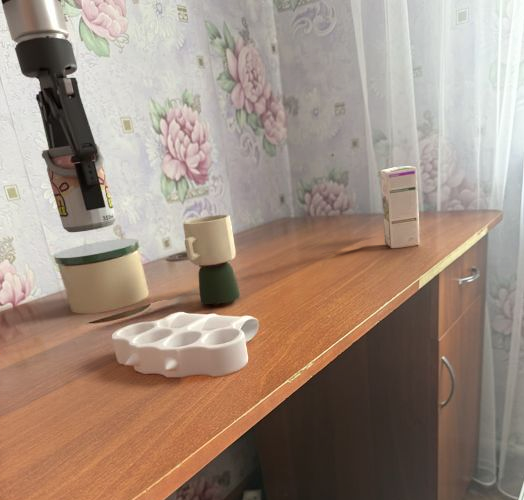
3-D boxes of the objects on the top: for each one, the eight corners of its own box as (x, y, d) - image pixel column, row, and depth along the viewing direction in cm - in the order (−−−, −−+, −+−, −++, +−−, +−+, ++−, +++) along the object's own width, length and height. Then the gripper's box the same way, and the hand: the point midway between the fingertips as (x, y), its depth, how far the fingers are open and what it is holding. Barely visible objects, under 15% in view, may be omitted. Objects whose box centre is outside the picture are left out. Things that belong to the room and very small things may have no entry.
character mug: (223, 291, 85) (209, 213, 80) (258, 292, 81) (246, 210, 76) (181, 312, 76) (163, 227, 72) (218, 315, 73) (202, 225, 68)
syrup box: (420, 245, 96) (419, 165, 91) (389, 249, 97) (386, 170, 91) (412, 239, 102) (410, 164, 96) (383, 243, 102) (379, 169, 96)
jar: (63, 314, 85) (45, 253, 82) (135, 293, 92) (121, 236, 88) (85, 330, 75) (65, 261, 71) (165, 305, 81) (150, 241, 78)
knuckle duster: (282, 337, 61) (213, 392, 50) (170, 328, 70) (90, 373, 59) (279, 311, 60) (207, 361, 48) (165, 305, 69) (83, 346, 57)
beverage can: (124, 225, 76) (103, 140, 71) (67, 236, 73) (42, 148, 68) (113, 221, 84) (94, 144, 79) (61, 230, 81) (38, 152, 76)
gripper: (92, 19, 62) (134, 204, 70) (51, 58, 79) (89, 203, 88) (29, 19, 58) (82, 214, 67) (1, 60, 76) (45, 211, 84)
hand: (86, 208), depth 77 cm, fingers closed on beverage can, 9 cm apart
